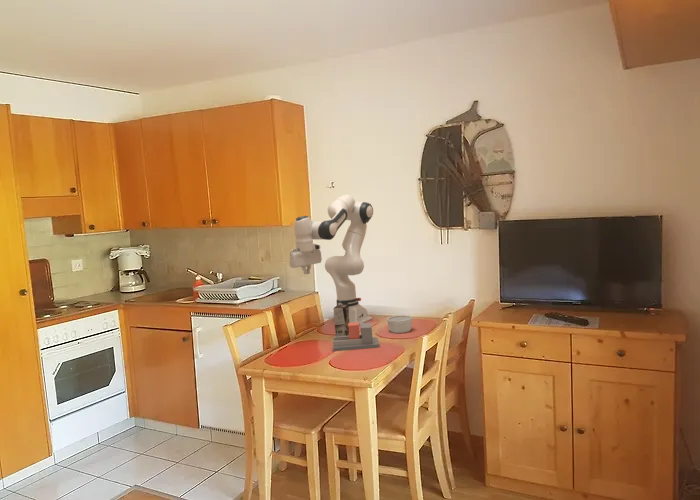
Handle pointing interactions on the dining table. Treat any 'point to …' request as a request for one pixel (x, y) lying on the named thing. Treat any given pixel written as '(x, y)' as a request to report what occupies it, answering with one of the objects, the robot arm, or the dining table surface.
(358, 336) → the red upright block
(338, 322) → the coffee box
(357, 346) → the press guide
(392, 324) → the ramekin
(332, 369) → the dining table surface
